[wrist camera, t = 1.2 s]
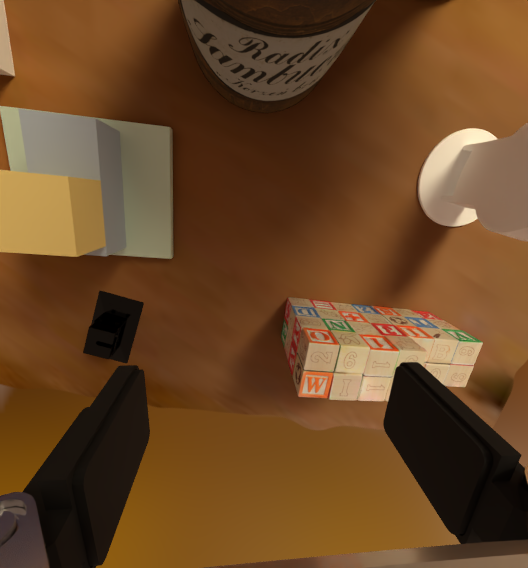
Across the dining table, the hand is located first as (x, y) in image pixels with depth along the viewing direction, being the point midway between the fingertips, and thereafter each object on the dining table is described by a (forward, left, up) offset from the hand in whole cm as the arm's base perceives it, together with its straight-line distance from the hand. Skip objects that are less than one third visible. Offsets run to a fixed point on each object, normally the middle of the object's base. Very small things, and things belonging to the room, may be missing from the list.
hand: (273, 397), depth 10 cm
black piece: (+11, -17, -26) cm, 33 cm away
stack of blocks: (+9, +16, -26) cm, 32 cm away
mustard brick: (-4, -17, -19) cm, 26 cm away
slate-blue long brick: (-6, -17, -24) cm, 30 cm away
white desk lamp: (-11, +26, -26) cm, 38 cm away
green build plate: (-6, -17, -26) cm, 31 cm away
